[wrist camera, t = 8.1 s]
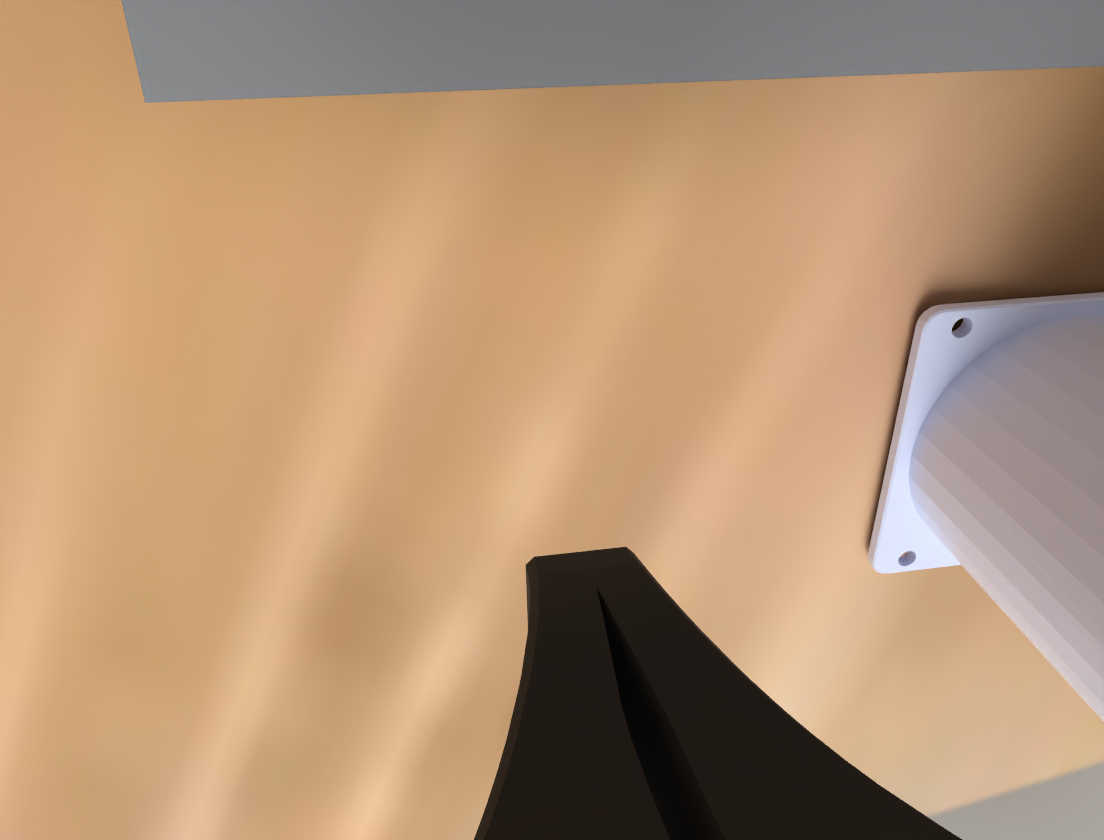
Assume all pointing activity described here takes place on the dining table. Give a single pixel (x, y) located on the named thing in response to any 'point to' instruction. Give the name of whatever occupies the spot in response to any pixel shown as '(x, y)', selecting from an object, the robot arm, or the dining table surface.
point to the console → (583, 42)
